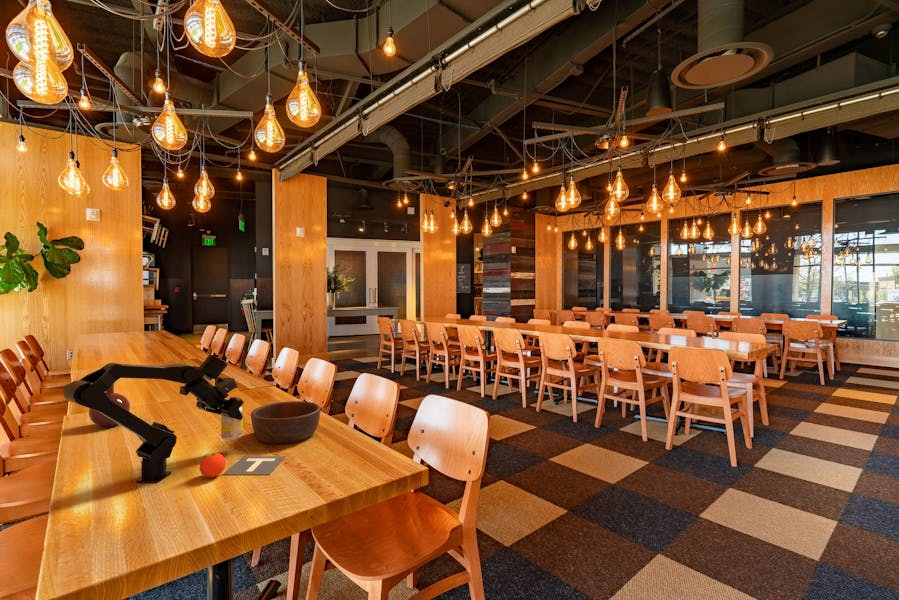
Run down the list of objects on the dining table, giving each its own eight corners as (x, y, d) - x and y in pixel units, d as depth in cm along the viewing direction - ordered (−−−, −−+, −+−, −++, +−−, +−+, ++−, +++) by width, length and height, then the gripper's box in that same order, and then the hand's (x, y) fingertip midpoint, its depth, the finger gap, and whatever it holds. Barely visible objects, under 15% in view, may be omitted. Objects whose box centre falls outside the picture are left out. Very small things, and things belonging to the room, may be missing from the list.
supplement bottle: (239, 432, 152) (239, 397, 152) (245, 437, 147) (245, 400, 147) (218, 436, 148) (219, 399, 148) (223, 441, 143) (224, 403, 143)
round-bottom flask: (88, 425, 174) (87, 376, 173) (128, 419, 182) (128, 372, 182) (89, 433, 164) (88, 381, 163) (131, 426, 173) (131, 377, 172)
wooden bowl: (262, 453, 147) (262, 423, 147) (243, 433, 166) (243, 407, 166) (331, 437, 163) (331, 411, 163) (306, 421, 182) (306, 397, 182)
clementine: (192, 483, 124) (192, 459, 124) (198, 473, 130) (198, 450, 130) (222, 480, 126) (222, 456, 126) (227, 470, 133) (227, 447, 132)
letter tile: (269, 475, 130) (269, 474, 130) (222, 475, 129) (222, 474, 129) (285, 456, 144) (285, 456, 144) (243, 456, 143) (243, 456, 143)
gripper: (238, 374, 139) (267, 401, 149) (205, 368, 149) (235, 393, 158) (214, 403, 133) (246, 429, 142) (181, 395, 142) (213, 420, 152)
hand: (235, 416), depth 149 cm, fingers closed on supplement bottle, 6 cm apart
